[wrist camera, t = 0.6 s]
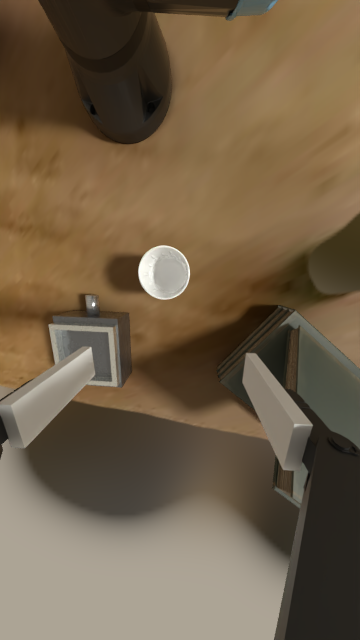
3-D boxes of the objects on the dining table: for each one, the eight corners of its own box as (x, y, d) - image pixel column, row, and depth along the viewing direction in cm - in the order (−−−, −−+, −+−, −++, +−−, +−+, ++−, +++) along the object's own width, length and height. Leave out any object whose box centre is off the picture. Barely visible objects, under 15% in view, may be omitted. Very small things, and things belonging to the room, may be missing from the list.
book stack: (349, 369, 38) (637, 534, 13) (282, 420, 42) (406, 614, 18) (278, 304, 35) (472, 360, 11) (215, 366, 40) (252, 504, 15)
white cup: (158, 297, 36) (146, 304, 26) (148, 260, 34) (131, 253, 25) (193, 289, 35) (194, 293, 26) (185, 250, 33) (183, 239, 24)
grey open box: (71, 292, 37) (42, 296, 30) (128, 294, 36) (112, 298, 29) (81, 368, 42) (58, 387, 35) (131, 371, 41) (118, 392, 34)
